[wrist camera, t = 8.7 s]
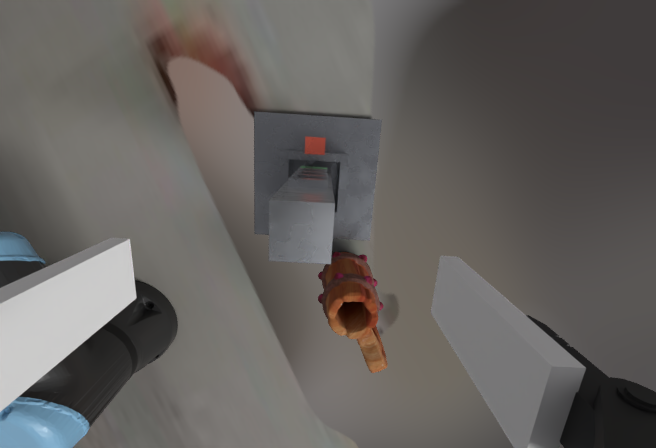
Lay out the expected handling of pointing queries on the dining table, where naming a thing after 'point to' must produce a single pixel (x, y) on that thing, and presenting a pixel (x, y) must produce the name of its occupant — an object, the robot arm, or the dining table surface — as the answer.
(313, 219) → the column
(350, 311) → the mug
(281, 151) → the stand base
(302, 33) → the dining table surface
